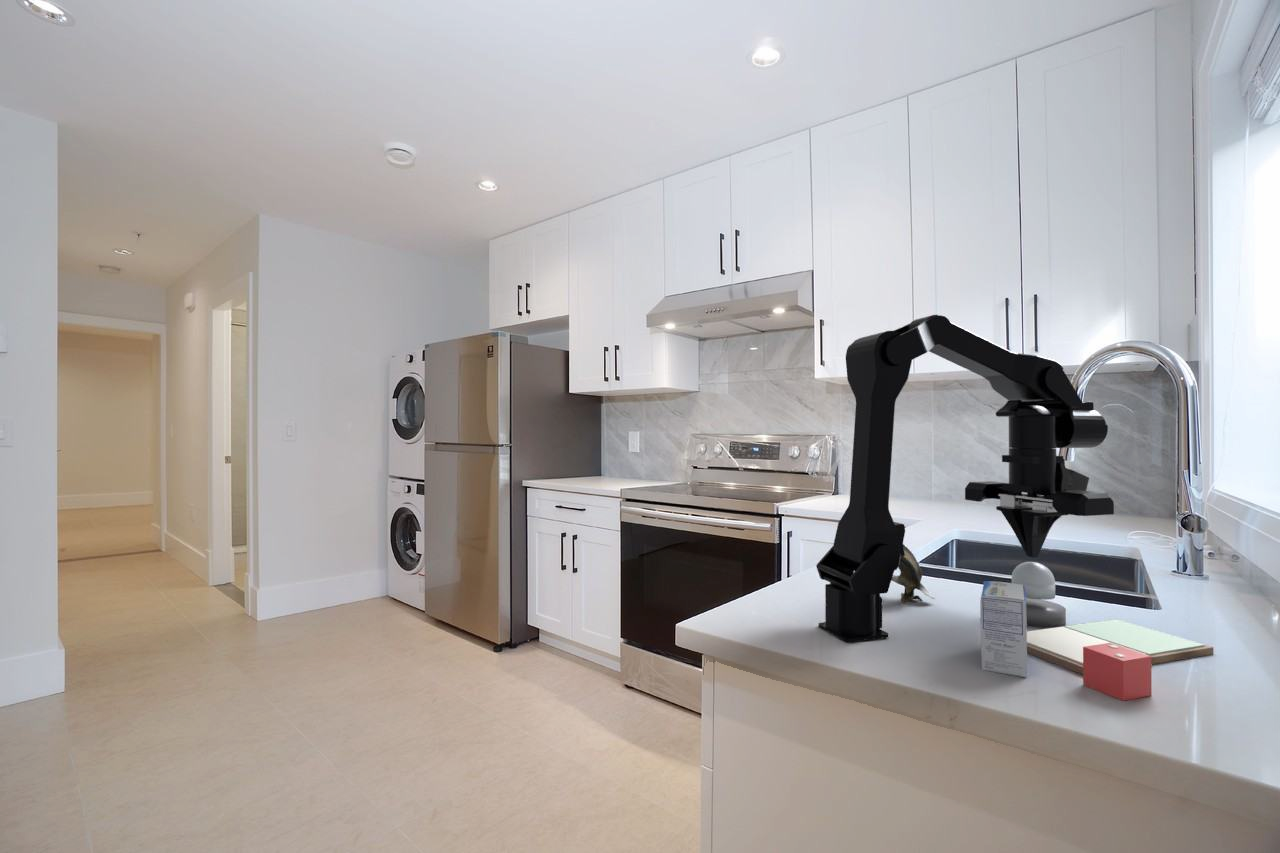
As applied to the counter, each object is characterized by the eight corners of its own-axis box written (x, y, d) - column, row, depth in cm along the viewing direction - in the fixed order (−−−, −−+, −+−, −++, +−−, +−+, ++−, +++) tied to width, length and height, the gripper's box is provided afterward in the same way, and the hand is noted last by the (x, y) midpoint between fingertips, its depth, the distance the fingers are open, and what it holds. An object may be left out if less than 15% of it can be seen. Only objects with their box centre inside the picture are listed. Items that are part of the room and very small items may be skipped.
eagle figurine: (877, 594, 97) (877, 540, 97) (922, 595, 96) (922, 540, 96) (892, 608, 90) (892, 549, 90) (941, 609, 89) (941, 550, 89)
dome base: (1037, 630, 80) (1037, 615, 80) (989, 613, 87) (989, 599, 87) (1079, 624, 82) (1079, 610, 82) (1028, 608, 89) (1028, 595, 89)
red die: (1123, 700, 59) (1123, 660, 59) (1083, 684, 63) (1083, 646, 63) (1151, 695, 60) (1151, 655, 60) (1110, 679, 64) (1110, 642, 64)
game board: (1086, 675, 65) (1086, 666, 65) (999, 641, 76) (999, 633, 76) (1213, 653, 71) (1213, 645, 71) (1116, 624, 82) (1116, 617, 82)
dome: (1036, 605, 81) (1036, 567, 81) (1003, 595, 86) (1002, 559, 86) (1064, 601, 83) (1064, 564, 83) (1030, 592, 88) (1029, 557, 88)
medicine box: (1027, 680, 64) (1027, 600, 64) (980, 671, 67) (980, 594, 67) (1025, 656, 71) (1025, 584, 71) (983, 648, 73) (982, 579, 73)
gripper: (1143, 450, 78) (1144, 568, 78) (1016, 446, 96) (1016, 542, 96) (1081, 451, 75) (1082, 574, 75) (962, 446, 93) (962, 546, 93)
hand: (1032, 557), depth 85 cm, fingers closed
